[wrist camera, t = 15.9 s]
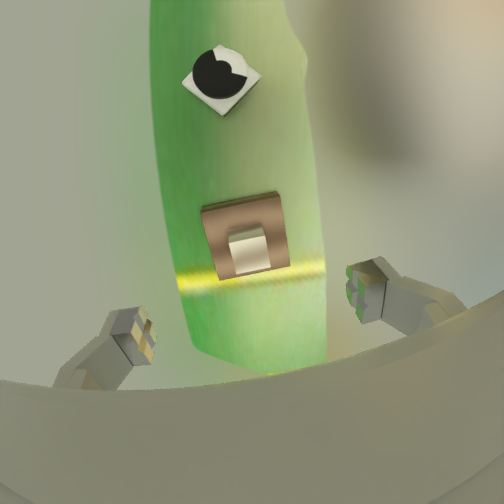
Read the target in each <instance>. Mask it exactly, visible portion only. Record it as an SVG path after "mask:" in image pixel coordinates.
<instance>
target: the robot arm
mask: <svg viewBox="0 0 504 504" xmlns="http://www.w3.org/2000/svg"><path fill="white" fill-rule="evenodd" d="M346 275H347V277H348V278H349V280H348V282H347V283H346V292H347V298H348V300H349V303H350V304H351V306H352V307H355V308H356V315H357V317H358V318H359V320H360V322H361V323H362V324H365V323H369V322H373V321H376V320H380V319H381V320H382V321H384V322H386V323H388V324H389V325H391V326H392V327H394V328H396V329H397V330H399V331H401V332H402V333H404V334H405V335H407V337H404V338H401V339H398V340H396V341H393V342H390V343H387V344H385V345H382V346H379V347H376V348H373V349H370V350H367V351H364V352H361V353H358V354H355V355H351V356H348V357H344V358H341V359H338V360H334V361H330V362H326V363H322V364H319V365H315V366H311V367H306V368H302V369H298V370H293V371H289V372H284V373H279V374H274V375H269V376H265V377H259V378H253V379H248V380H241V381H235V382H228V383H221V384H213V385H204V386H195V387H184V388H172V389H155V390H117V388H118V387H119V385H120V384H121V383H122V381H123V380H124V379H125V378H126V376H127V375H128V374H129V372H130V371H131V370H132V369H133V366H140V365H150V364H151V363H152V358H153V354H154V351H153V350H152V347H153V346H154V345H155V344H156V340H157V335H156V330H155V327H154V325H153V323H152V322H151V321H150V320H148V319H147V316H148V313H147V311H146V310H145V308H144V307H134V308H126V309H119V310H113V311H111V312H109V315H108V317H107V319H106V321H105V323H104V325H103V328H102V330H101V332H100V334H99V336H98V337H95V338H94V339H93V340H91V341H90V342H89V343H88V344H87V345H86V346H85V347H83V349H81V350H80V351H79V352H78V353H77V354H75V356H73V357H72V358H71V359H70V360H69V361H68V362H67V363H65V364H64V365H63V366H62V367H61V368H60V370H59V372H58V375H57V377H56V379H55V382H54V384H53V387H47V386H38V385H31V384H25V383H18V382H12V381H7V380H0V504H504V290H503V291H501V292H499V293H498V294H496V295H494V296H492V297H490V298H489V299H487V300H485V301H483V302H481V303H479V304H478V305H476V306H474V307H472V308H470V309H467V308H466V307H465V306H464V305H463V303H462V302H461V301H460V300H459V299H458V298H457V297H456V296H455V295H454V294H453V293H451V292H448V291H445V290H443V289H439V288H437V287H434V286H431V285H429V284H426V283H423V282H420V281H417V280H414V279H411V278H409V277H406V276H404V277H401V276H400V275H399V274H398V273H397V271H396V270H395V269H394V268H393V267H392V266H391V265H390V264H389V263H388V262H387V261H386V260H385V259H384V258H383V257H381V256H380V257H377V258H373V259H370V260H367V261H364V262H359V263H356V264H351V265H348V266H347V269H346Z"/></svg>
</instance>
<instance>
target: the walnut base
mask: <svg viewBox="0 0 504 504" xmlns="http://www.w3.org/2000/svg"><path fill="white" fill-rule="evenodd" d="M200 214H201V217H202V221H203V225H204V228H205V232H206V236H207V239H208V243H209V246H210V250H211V254H212V257H213V261H214V264H215V267H216V271H217V274H218V278H219V281H220V280H225V279H230V278H235V277H240V276H245V275H250V274H255V273H260V272H264V271H269V270H274V269H279V268H283V267H288V266H290V259H289V252H288V245H287V238H286V232H285V225H284V218H283V212H282V205H281V199H280V196H279V194H278V193H277V192H272V193H267V194H262V195H257V196H252V197H247V198H242V199H237V200H232V201H228V202H223V203H219V204H214V205H210V206H205V207H202V209H201V213H200ZM257 223H261V225H262V228H263V231H264V234H265V238H266V243H267V249H268V254H269V260H270V265H271V267H270V268H265V269H260V270H255V271H250V272H245V273H240V274H236V271H235V267H234V263H233V259H232V255H231V251H230V247H229V235H228V229H233V228H238V227H243V226H247V225H252V224H257Z"/></svg>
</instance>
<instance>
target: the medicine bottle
mask: <svg viewBox="0 0 504 504" xmlns="http://www.w3.org/2000/svg"><path fill="white" fill-rule="evenodd" d="M260 78H261V76H260V74H258V73H257V72H256V71H255V70H253V69H252V68H251V67H250V66H248V65H247V63H246V61H245V59H244V58H243V57H242V56H241V55H240V54H239V53H237V52H236V51H234V50H231V49H227V48H225V47H223V46H222V45H218V46H216V47H215V48H214V49H212V50H209V51H207V52H205V53H204V54H202V55H201V56H200V57H199V58H198V59H197V61H196V62H195V64H194V67H193V70H192V72H191V73H190V74H189V75H188V76H187V77H186V78H185V79H184V80H183V81H182V84H183V85H184V86H185V87H186V88H187V89H188V90H189V91H190V92H192V93H193V94H194V95H196V96H197V97H198V98H200V99H201V100H202V101H204V102H205V103H206V104H207V105H209V106H210V107H211V108H213V109H214V110H215V111H216V112H218V113H219V114H220V115H221V116H223V117H225V116H226V115H227V114H228V113H229V112H230V111H231V110H232V109H233V108H234V107H235V106H236V105H237V104H238V103H239V101H240V100H241V99H242V98H243V97H244V96H245V95H246V94H247V93H248V92H249V91H250V90H251V89H252V88H253V87H254V86H255V85H256V84H257V82H258V81H259V79H260Z"/></svg>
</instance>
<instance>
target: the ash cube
mask: <svg viewBox="0 0 504 504" xmlns="http://www.w3.org/2000/svg"><path fill="white" fill-rule="evenodd" d="M228 235H229V247H230V251H231V255H232V259H233V263H234V267H235V271H236V274H240V273H245V272H250V271H255V270H260V269H265V268H270V267H271V265H270V260H269V254H268V249H267V243H266V238H265V234H264V231H263V228H262V225H261V223H257V224H252V225H247V226H243V227H238V228H233V229H228Z"/></svg>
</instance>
